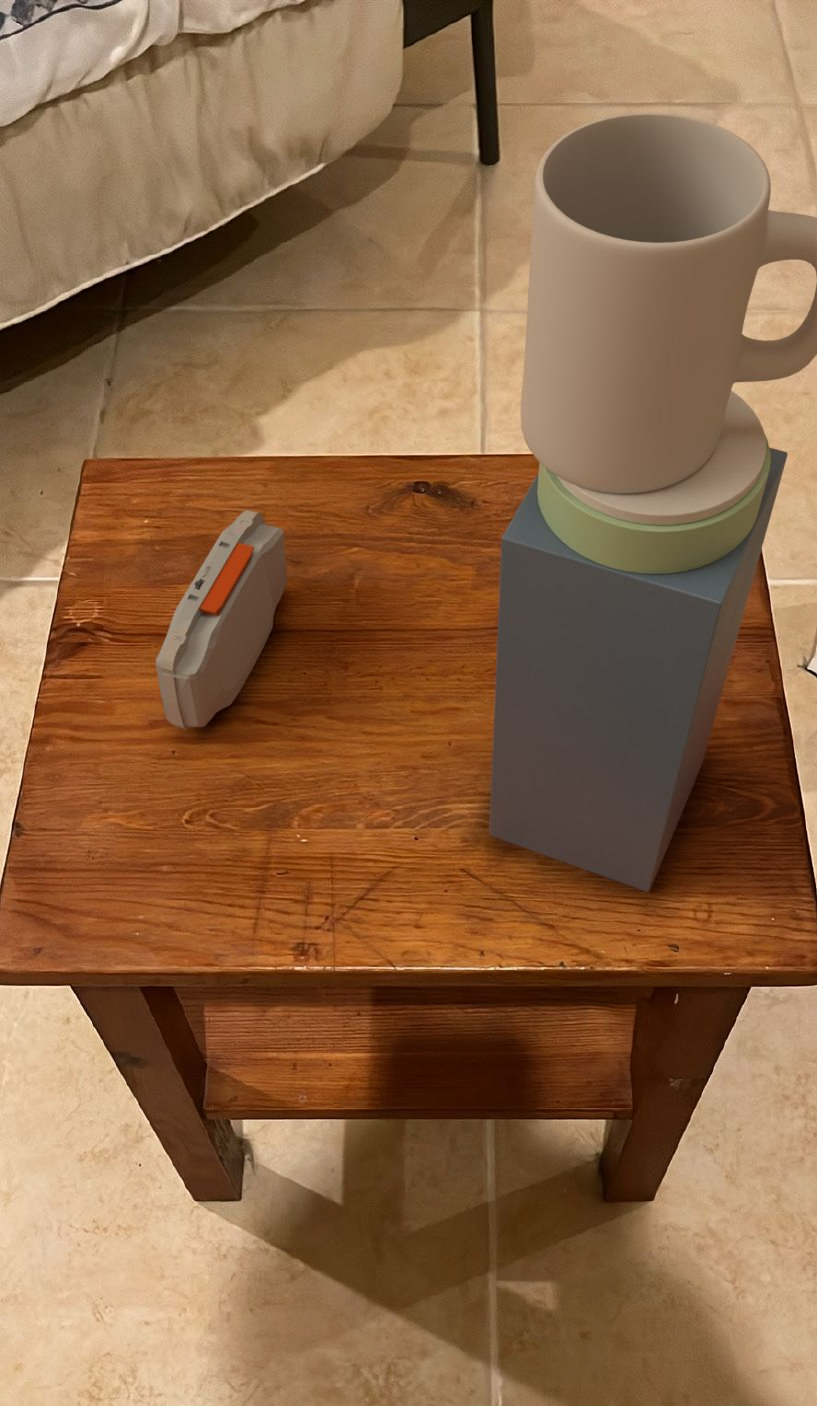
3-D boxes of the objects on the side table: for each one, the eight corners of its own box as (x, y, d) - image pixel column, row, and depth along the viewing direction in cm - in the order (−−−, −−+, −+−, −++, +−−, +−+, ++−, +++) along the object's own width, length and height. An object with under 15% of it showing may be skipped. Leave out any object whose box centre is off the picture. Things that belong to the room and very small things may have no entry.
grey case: (259, 579, 89) (242, 488, 82) (299, 589, 88) (285, 499, 81) (168, 741, 82) (141, 656, 75) (210, 753, 81) (188, 669, 75)
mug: (519, 495, 54) (532, 248, 45) (520, 360, 58) (533, 109, 49) (813, 498, 53) (890, 249, 44) (792, 362, 58) (858, 108, 48)
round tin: (785, 452, 59) (801, 395, 57) (720, 601, 55) (734, 547, 52) (582, 397, 62) (588, 340, 59) (503, 536, 57) (506, 481, 54)
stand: (702, 763, 80) (788, 451, 59) (648, 893, 75) (722, 603, 55) (549, 713, 82) (581, 395, 62) (488, 835, 78) (500, 537, 57)
